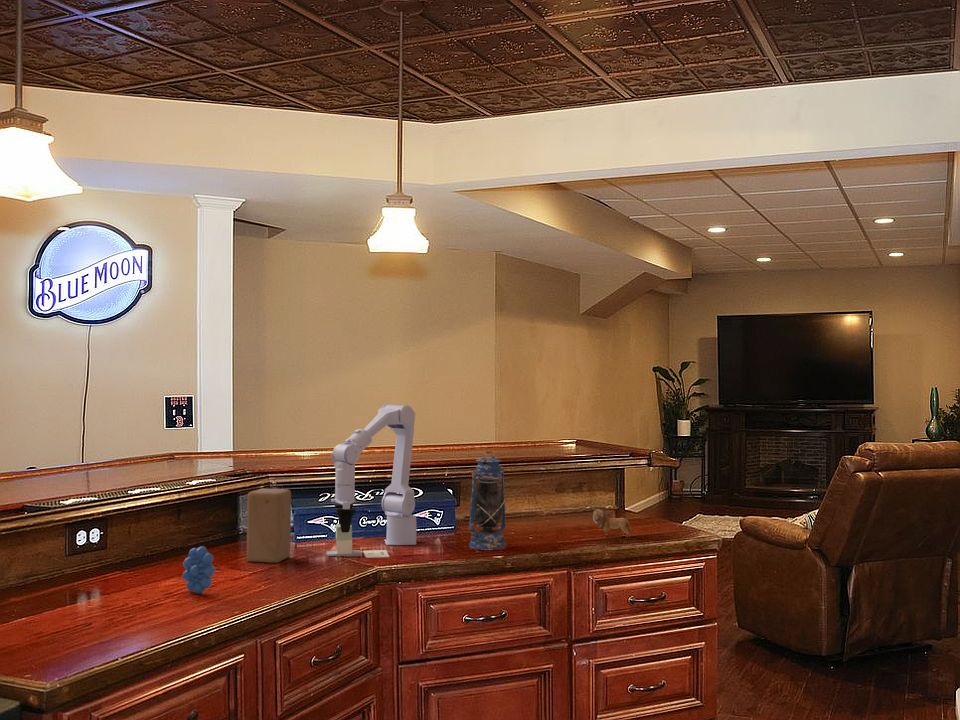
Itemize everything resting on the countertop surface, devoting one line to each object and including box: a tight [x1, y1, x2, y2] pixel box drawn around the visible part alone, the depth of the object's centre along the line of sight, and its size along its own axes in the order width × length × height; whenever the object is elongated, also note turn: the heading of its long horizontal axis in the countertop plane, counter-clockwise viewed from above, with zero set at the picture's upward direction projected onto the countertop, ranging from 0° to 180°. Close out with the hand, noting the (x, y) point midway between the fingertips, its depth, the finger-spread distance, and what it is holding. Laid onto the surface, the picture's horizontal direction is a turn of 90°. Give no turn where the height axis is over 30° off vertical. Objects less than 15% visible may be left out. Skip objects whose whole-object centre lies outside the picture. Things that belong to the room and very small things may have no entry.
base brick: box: [326, 549, 363, 558], centre depth 298 cm, size 10×5×2 cm, turn 104°
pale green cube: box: [335, 523, 353, 542], centre depth 297 cm, size 4×4×4 cm
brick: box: [336, 539, 353, 554], centre depth 297 cm, size 4×4×4 cm
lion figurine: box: [592, 508, 634, 536], centre depth 333 cm, size 15×5×9 cm, turn 72°
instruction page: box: [362, 549, 391, 559], centre depth 299 cm, size 7×10×1 cm
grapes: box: [182, 545, 216, 595], centre depth 248 cm, size 12×7×12 cm, turn 52°
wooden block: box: [246, 488, 292, 564], centre depth 289 cm, size 10×10×20 cm
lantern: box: [468, 451, 507, 550], centre depth 312 cm, size 15×12×30 cm
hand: (344, 529), depth 297 cm, fingers open, 7 cm apart
